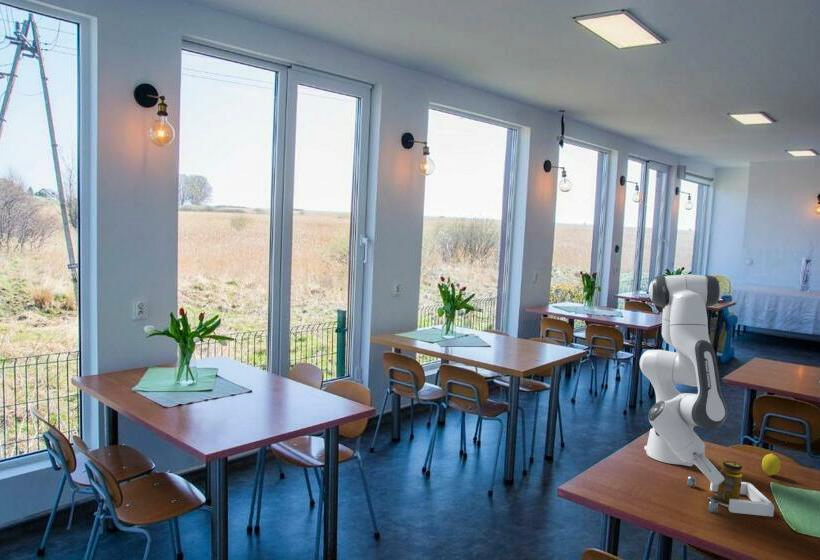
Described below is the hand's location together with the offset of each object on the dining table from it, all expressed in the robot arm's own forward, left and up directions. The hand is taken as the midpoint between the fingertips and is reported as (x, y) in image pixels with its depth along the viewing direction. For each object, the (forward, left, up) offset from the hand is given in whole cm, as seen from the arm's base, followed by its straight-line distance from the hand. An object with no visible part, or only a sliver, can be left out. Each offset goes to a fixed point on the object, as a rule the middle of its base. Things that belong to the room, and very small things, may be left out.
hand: (718, 481), depth 187 cm
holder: (-5, +5, -6) cm, 9 cm away
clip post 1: (-2, -10, -6) cm, 12 cm away
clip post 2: (+9, +4, -6) cm, 12 cm away
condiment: (-2, +2, -6) cm, 7 cm away
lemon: (-38, -2, -6) cm, 38 cm away
